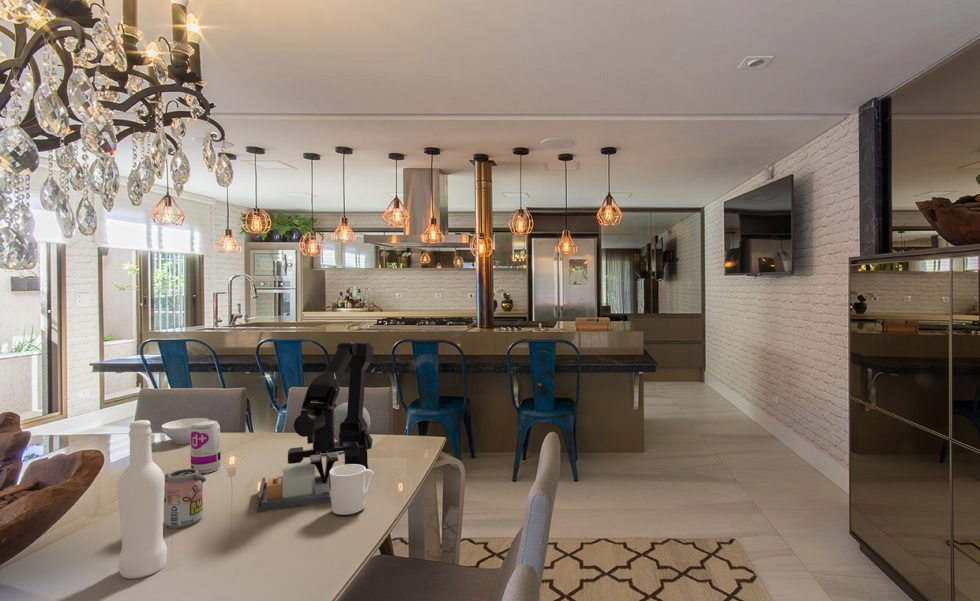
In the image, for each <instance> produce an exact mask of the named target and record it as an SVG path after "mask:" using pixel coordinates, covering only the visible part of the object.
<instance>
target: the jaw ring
mask: <svg viewBox="0 0 980 601" xmlns="http://www.w3.org/2000/svg"><path fill="white" fill-rule="evenodd" d="M278 478H283V475H282V476H274V477H268V478H267V480H266V482H267V486H266V490H267V499H275V498H282V497H283V483H278V482H277V479H278Z"/></svg>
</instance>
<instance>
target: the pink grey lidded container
mask: <svg viewBox="0 0 980 601" xmlns="http://www.w3.org/2000/svg"><path fill="white" fill-rule="evenodd" d="M164 478H165V480H166V482H165V488H164V510H163V524H164V525H165V526H166V527H167V528H170V529H182V528H186V527H187V528H188V527H190V526H193V525H195V524H197V523H198V522H200V520H202V518H203V515H204V505H203V504H204V502H203V498H204V497H203V496H204V494H203V483H205V482H206V481H207V479H206V478H207V477H206V476H205V475H204V476H203V474H200V473H199V471H198V470H197V469H191V468H184V469H183V468H182V469H178V470H173V471H171V472H166V473H165V474H164Z"/></svg>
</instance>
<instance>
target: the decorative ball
mask: <svg viewBox="0 0 980 601" xmlns="http://www.w3.org/2000/svg"><path fill="white" fill-rule="evenodd" d="M347 408H348V401H346V402H343V403H342V404H339V405H337V407H335V408H334V439H335V440H336V441H337V442H339V443H340V441H339V432H340V424H341V422H344V420H345V419H346V417H347ZM363 418H364V420H365V421H366V423H367V431H368V432H369V430H370V428H371V427H370V426H371V417H370V414H369V411H368V410H367V409H366V407H364V406H363Z"/></svg>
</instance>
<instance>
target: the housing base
mask: <svg viewBox="0 0 980 601" xmlns="http://www.w3.org/2000/svg"><path fill="white" fill-rule="evenodd" d="M324 476H325V474H324ZM329 479H330V477H328V479H327V482H326V483H324V484H323V481H322V479H321V476H320V475H318V476H317V475H315V494H310V495H303V496H295V497H288V498H283V497H282V498H275V499H267V490H266V486H267V480H266V477H262V478H261V483H260V487H259V491H258V494H257V503H256V513H263V511H264V512H269V510H271V511H277V510H276V509H278V510H283V509H285V510H286V509H290V508H291V509H292V508H298V507H306V506H311V505H319V504H327V503H332V502H331V485H330V480H329ZM277 482H278V483H282V478H278V479H277Z"/></svg>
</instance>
